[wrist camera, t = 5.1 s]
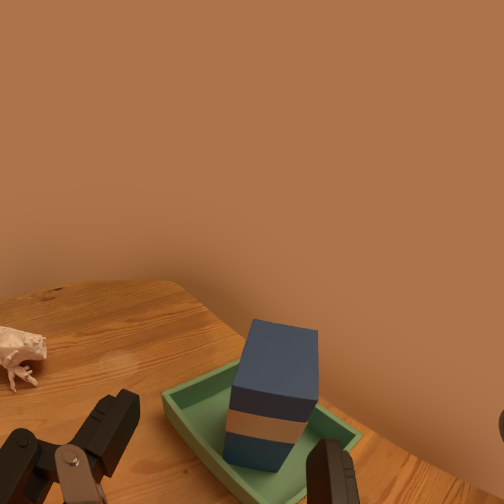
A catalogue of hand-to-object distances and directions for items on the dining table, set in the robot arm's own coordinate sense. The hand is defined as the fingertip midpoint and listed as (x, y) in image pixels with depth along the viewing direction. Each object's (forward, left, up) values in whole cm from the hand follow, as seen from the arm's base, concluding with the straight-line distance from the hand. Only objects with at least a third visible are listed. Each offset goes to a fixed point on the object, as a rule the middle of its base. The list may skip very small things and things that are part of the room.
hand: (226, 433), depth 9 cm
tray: (-3, -7, -14) cm, 16 cm away
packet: (-3, -7, -13) cm, 15 cm away
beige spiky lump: (+27, -6, -14) cm, 31 cm away
